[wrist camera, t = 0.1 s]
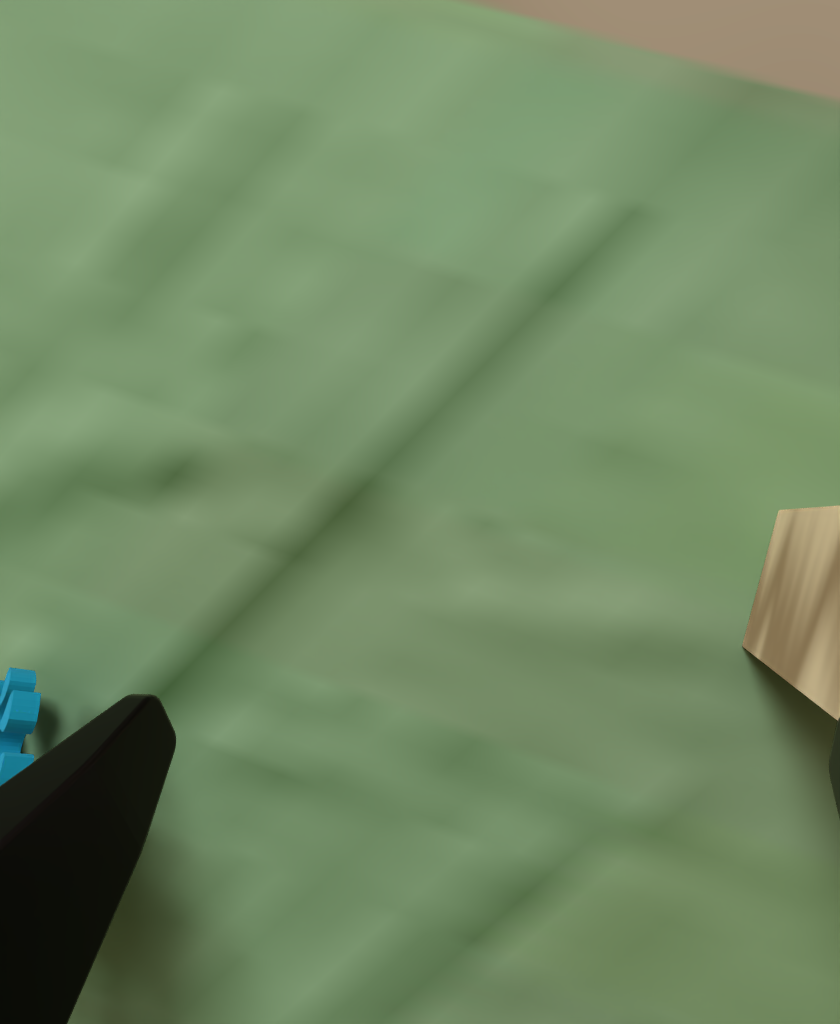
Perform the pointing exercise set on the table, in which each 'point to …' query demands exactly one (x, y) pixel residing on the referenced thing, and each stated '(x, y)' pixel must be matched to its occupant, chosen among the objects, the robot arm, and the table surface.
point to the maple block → (801, 605)
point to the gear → (16, 720)
